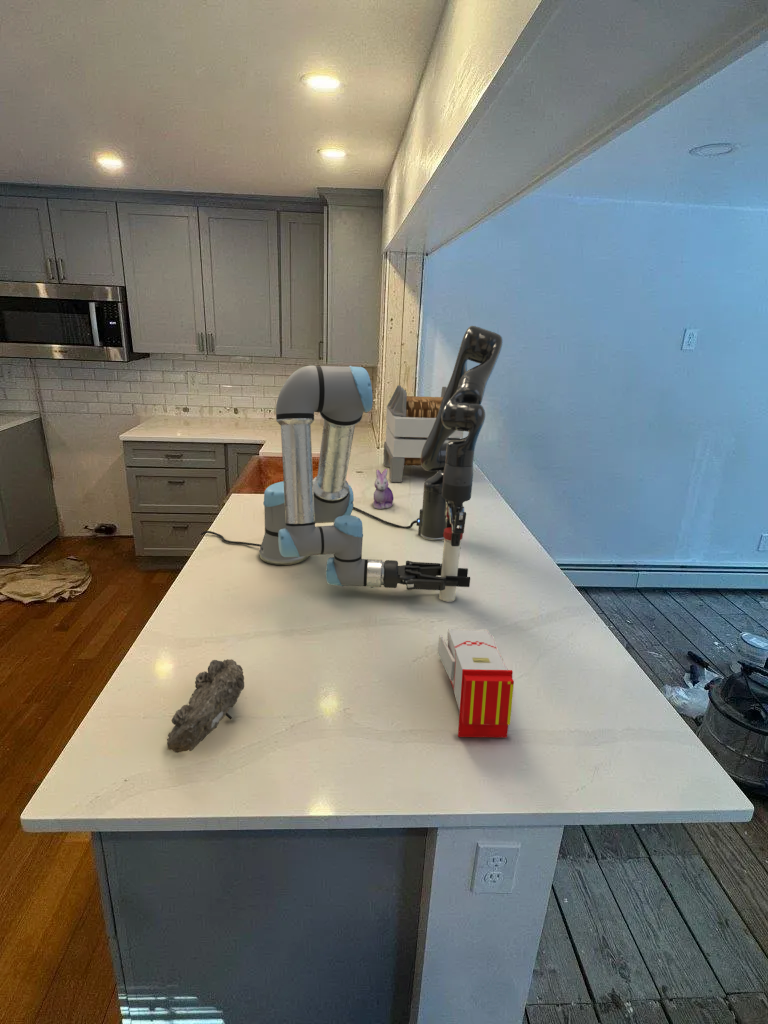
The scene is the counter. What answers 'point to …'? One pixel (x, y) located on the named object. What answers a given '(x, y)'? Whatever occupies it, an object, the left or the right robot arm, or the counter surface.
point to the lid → (449, 533)
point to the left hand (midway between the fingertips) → (468, 577)
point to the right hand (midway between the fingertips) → (452, 540)
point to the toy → (478, 682)
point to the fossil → (206, 705)
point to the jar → (449, 569)
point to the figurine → (382, 491)
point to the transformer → (409, 430)
